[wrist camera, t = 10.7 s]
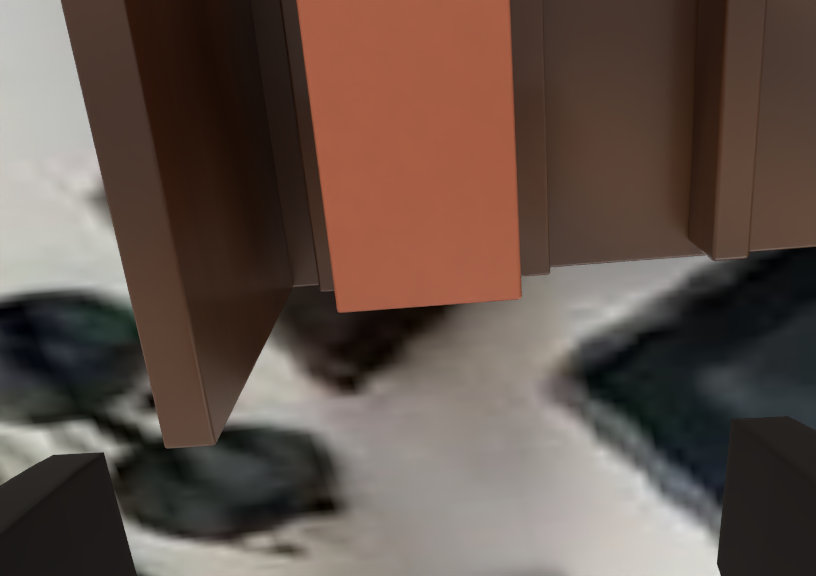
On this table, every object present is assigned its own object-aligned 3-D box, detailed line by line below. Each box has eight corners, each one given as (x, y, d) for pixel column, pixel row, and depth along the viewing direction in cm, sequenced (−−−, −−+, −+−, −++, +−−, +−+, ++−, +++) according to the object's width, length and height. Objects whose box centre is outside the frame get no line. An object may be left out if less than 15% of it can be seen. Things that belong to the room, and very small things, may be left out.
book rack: (962, 222, 18) (1352, 371, 10) (268, 276, 19) (164, 449, 11) (1047, -272, 14) (1718, -584, 7) (195, -177, 15) (-27, -363, 8)
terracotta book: (485, 191, 17) (523, 301, 10) (371, 200, 17) (335, 315, 10) (469, -105, 15) (504, -203, 8) (339, -91, 15) (270, -177, 8)
